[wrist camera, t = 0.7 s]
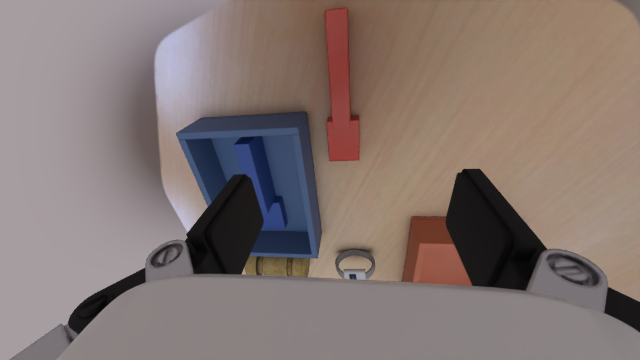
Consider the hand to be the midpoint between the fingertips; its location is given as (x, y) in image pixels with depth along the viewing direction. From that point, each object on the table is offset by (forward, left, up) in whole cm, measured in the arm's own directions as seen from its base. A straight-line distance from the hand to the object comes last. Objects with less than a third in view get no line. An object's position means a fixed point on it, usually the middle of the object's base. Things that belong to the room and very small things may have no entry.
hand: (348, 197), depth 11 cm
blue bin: (+11, -12, -18) cm, 24 cm away
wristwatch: (+25, 0, -19) cm, 31 cm away
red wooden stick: (0, -1, -18) cm, 18 cm away
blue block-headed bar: (+11, -12, -18) cm, 24 cm away
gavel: (+34, -13, -19) cm, 41 cm away
